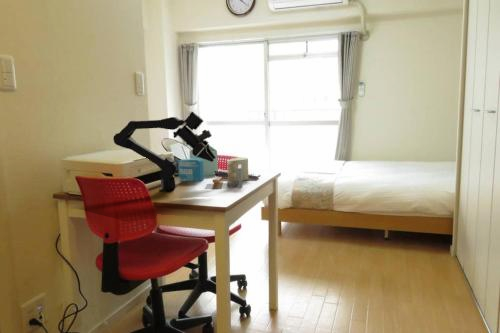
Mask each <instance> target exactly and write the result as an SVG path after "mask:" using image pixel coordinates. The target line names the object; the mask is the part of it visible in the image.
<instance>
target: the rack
mask: <svg viewBox="0 0 500 333" xmlns="http://www.w3.org/2000/svg"><path fill="white" fill-rule="evenodd" d="M213 184H214V183H207V184H206V186H205V187H204V190H215V189H221V190H222V189H239V188H240V189H242V188H244V187H243V186H244V182H243V181H242V164H238V181H237V183H228V182H223V185H222V188H213Z"/></svg>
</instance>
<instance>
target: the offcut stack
mask: <svg viewBox="0 0 500 333" xmlns="http://www.w3.org/2000/svg"><path fill="white" fill-rule="evenodd" d="M223 183H224V181H223V176H215V177H214V178H213V179H212V184H213V188H222V185H223ZM222 189H223V188H222Z"/></svg>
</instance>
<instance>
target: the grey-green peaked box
mask: <svg viewBox="0 0 500 333" xmlns="http://www.w3.org/2000/svg"><path fill="white" fill-rule="evenodd" d="M208 144H209V143H208ZM208 144H207V145H208ZM209 149H210V150H211V152H212V153H213V154H214V156H215V157H216V158H215V159H213V160H214V161H213V162H211V161H208V160H205V159H202V158H199V157H197V156H198V155H199V154H197V156H196V157H195V156H194V155H193V154H192V151H193V149H192V148H191V149H190V150H189V159H202V161H203V172H204V178H206V177H211V176H216V175H215V173H214V171H218V172H219V163H218V162H219V161H218V151H217V149H216V148H214V147H213V146H211V145H210V144H209Z"/></svg>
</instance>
